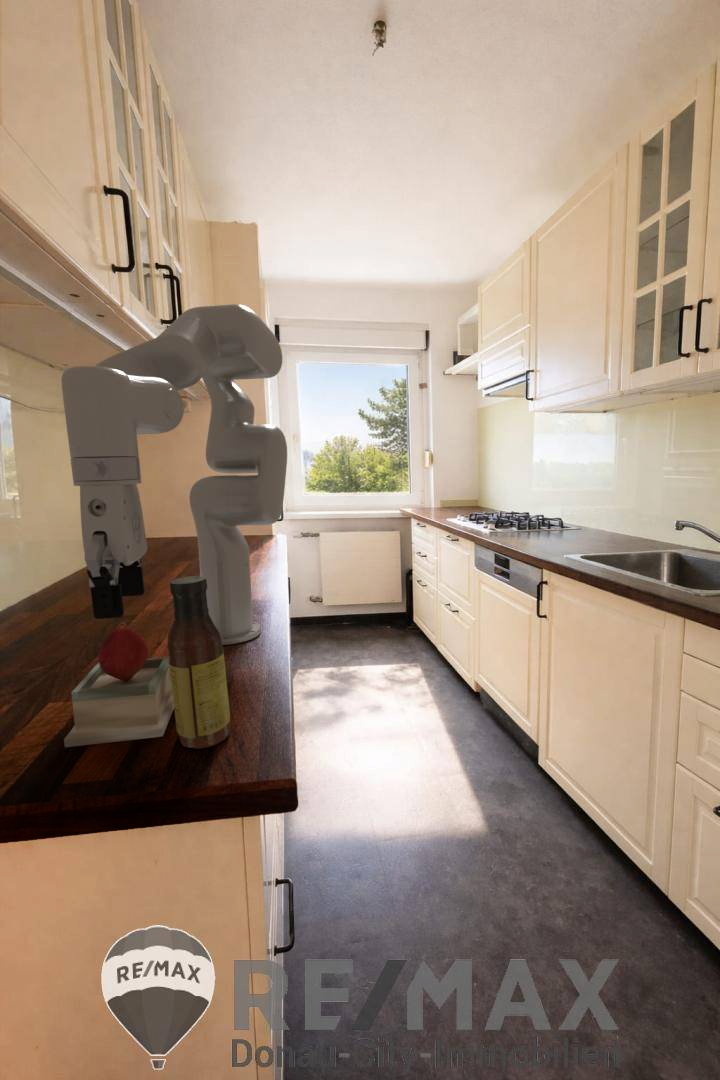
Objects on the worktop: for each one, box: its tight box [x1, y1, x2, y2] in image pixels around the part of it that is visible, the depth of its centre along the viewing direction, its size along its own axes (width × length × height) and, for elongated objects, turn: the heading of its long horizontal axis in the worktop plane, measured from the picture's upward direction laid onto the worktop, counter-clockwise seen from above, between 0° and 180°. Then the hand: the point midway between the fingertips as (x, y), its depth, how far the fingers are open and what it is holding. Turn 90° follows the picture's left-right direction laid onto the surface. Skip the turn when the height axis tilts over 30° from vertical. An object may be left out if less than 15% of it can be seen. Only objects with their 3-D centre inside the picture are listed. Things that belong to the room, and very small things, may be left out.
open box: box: [63, 656, 175, 748], centre depth 63 cm, size 12×11×6 cm
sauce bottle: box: [166, 575, 231, 750], centre depth 57 cm, size 7×6×20 cm
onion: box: [98, 621, 149, 681], centre depth 62 cm, size 6×6×8 cm
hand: (121, 605), depth 62 cm, fingers open, 9 cm apart
